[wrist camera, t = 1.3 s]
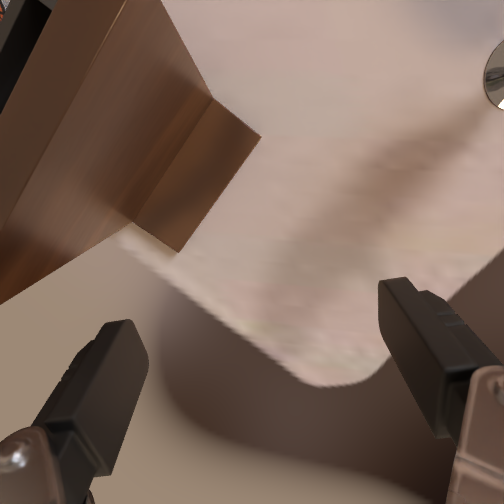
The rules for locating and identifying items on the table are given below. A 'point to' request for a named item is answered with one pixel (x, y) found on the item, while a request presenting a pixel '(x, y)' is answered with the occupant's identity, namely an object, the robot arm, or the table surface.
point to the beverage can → (1, 10)
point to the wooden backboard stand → (103, 133)
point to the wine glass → (495, 77)
